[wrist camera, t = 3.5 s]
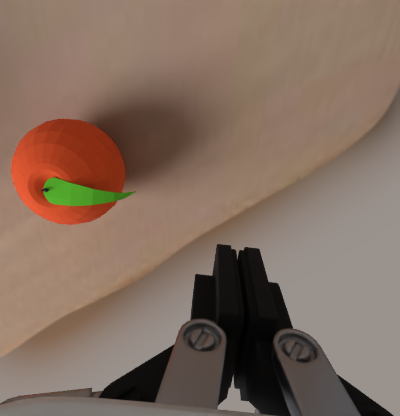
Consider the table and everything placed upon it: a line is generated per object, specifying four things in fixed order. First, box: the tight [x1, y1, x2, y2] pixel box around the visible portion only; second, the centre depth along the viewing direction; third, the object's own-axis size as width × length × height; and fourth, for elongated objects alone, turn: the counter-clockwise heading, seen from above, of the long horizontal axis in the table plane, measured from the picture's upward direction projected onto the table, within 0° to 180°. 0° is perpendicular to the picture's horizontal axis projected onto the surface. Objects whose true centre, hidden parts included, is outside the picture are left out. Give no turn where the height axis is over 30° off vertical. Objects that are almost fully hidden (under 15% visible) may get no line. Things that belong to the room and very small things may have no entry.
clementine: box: [11, 119, 136, 225], centre depth 20 cm, size 8×7×7 cm
